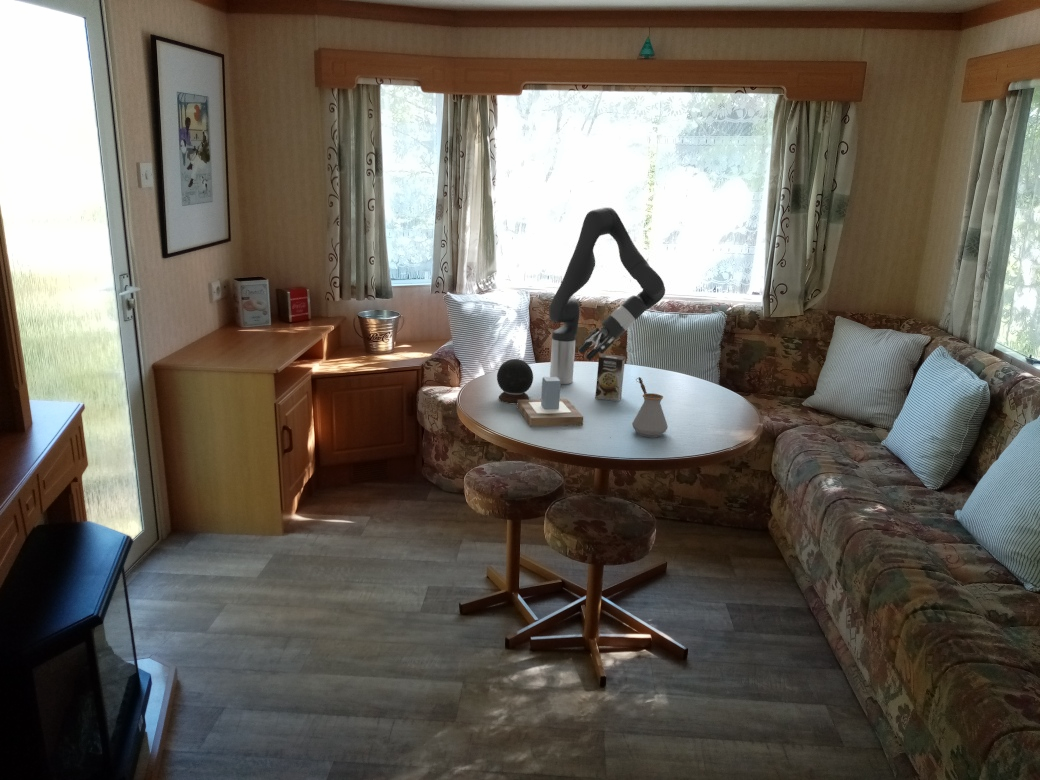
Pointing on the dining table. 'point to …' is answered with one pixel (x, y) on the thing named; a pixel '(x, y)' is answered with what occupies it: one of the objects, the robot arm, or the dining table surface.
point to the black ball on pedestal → (514, 380)
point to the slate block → (550, 393)
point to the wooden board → (549, 413)
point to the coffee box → (610, 377)
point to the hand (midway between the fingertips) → (583, 355)
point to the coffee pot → (650, 415)
